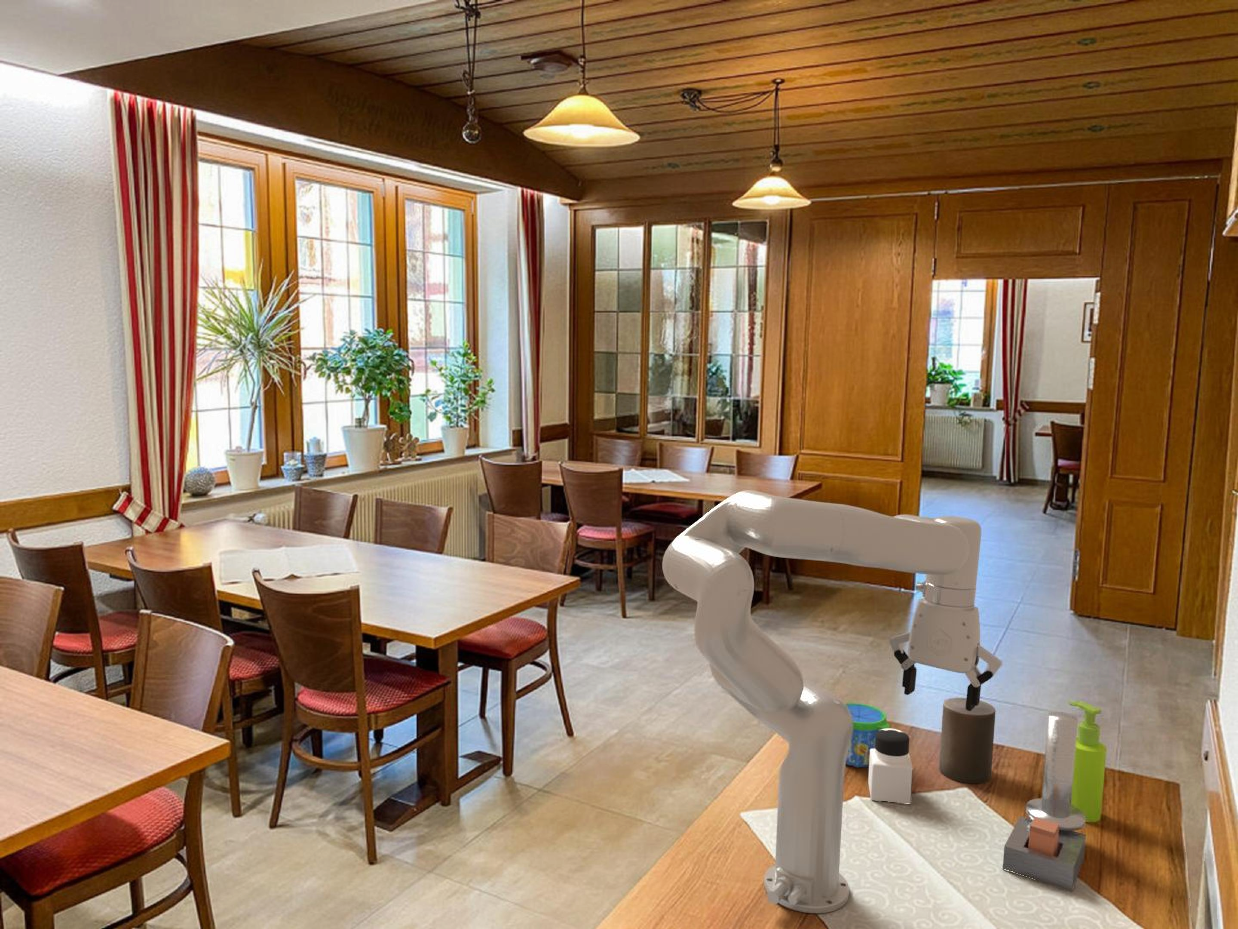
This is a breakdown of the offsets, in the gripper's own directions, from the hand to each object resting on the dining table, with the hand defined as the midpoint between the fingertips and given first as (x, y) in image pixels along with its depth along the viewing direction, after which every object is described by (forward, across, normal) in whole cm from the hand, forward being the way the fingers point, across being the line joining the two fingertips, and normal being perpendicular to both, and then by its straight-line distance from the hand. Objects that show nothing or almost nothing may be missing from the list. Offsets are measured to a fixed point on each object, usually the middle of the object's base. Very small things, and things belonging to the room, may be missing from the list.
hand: (939, 700), depth 144 cm
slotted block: (+26, +16, +14) cm, 33 cm away
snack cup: (+26, -23, +28) cm, 44 cm away
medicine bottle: (+26, -12, +18) cm, 34 cm away
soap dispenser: (+25, +17, +33) cm, 45 cm away
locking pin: (+26, +16, +9) cm, 32 cm away
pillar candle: (+26, -4, +36) cm, 44 cm away
